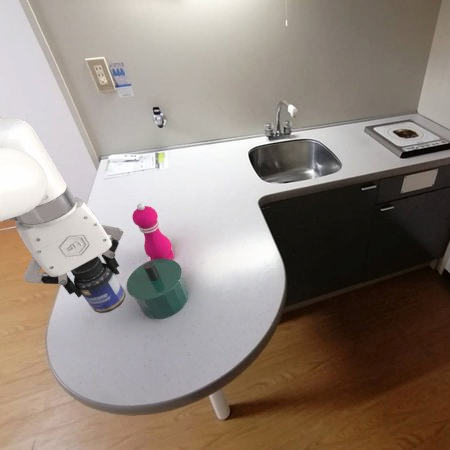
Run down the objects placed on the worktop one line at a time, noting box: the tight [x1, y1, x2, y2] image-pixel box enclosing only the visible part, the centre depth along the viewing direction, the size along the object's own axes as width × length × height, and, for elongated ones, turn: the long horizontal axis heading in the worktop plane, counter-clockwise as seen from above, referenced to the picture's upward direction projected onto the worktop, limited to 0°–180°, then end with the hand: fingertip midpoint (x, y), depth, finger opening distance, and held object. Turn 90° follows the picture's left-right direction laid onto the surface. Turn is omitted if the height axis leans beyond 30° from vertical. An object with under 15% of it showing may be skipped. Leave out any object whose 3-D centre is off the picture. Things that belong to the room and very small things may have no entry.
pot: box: [133, 276, 189, 320], centre depth 77 cm, size 12×12×8 cm
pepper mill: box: [131, 203, 175, 261], centre depth 85 cm, size 7×7×20 cm
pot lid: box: [126, 259, 183, 300], centre depth 73 cm, size 13×13×6 cm
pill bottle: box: [70, 256, 127, 314], centre depth 58 cm, size 6×6×11 cm
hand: (96, 280), depth 57 cm, fingers closed on pill bottle, 6 cm apart
